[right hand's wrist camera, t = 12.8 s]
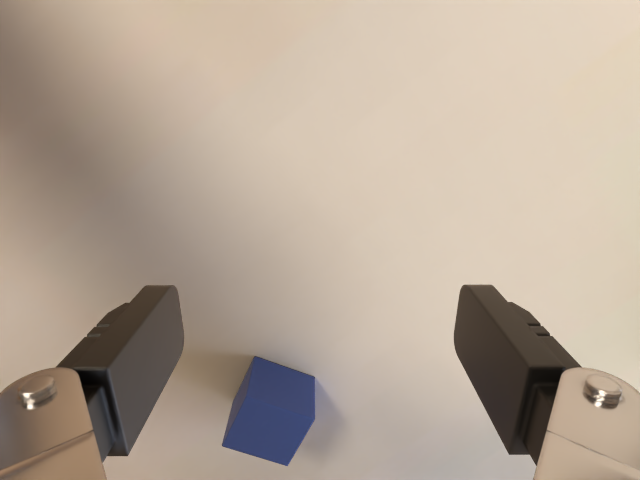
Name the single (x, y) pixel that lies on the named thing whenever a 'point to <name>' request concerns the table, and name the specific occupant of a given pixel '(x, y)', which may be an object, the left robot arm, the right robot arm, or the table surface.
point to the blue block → (271, 412)
